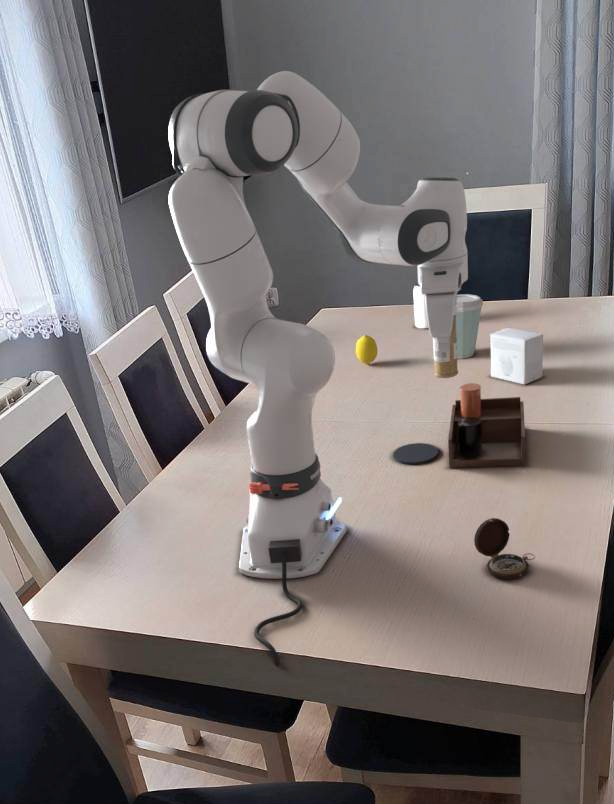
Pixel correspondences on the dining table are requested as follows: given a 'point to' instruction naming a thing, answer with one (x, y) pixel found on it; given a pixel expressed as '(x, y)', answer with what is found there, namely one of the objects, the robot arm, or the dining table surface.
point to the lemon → (366, 349)
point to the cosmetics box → (516, 355)
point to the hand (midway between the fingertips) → (444, 346)
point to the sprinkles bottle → (447, 354)
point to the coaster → (415, 453)
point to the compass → (499, 550)
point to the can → (419, 308)
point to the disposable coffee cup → (467, 324)
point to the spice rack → (492, 430)
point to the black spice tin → (470, 437)
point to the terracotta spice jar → (470, 400)
